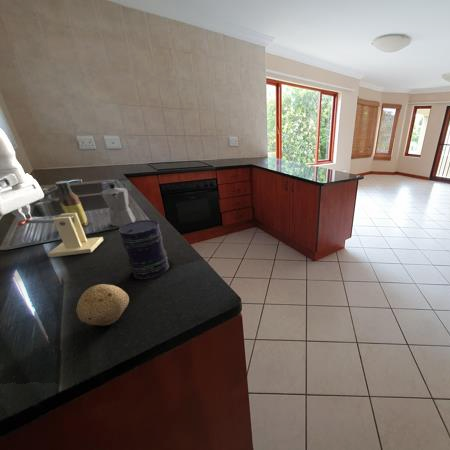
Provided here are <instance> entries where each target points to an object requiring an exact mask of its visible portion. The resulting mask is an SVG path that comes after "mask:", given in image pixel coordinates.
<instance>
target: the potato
mask: <svg viewBox="0 0 450 450" xmlns="http://www.w3.org/2000/svg"><path fill="white" fill-rule="evenodd" d="M129 303H130V297H129V295H128V293H127V292H126V291H125V290H123V289H122V288H120V287H119V286H116V285H114V284H109V283H108V284H107V283H101V284H99V283H98V284H96V285H93V286H90V287H89V288H87V289H86V290H84V292H83V293H82V294H81V296H80V297H79V299H78V301H77V305H76V307H75V312H76V315H77V318H78V319H79V321H80V322H82V323H84V324H86V325H90V326H102V327H105V326H110V325H112V324H114V323H116V322H117V321H118V320H119V319H120V318H121V316H122V314H123V312H124V311H125V310H126V309H127V308H128V305H129Z"/></svg>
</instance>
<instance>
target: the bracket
mask: <svg viewBox="0 0 450 450" xmlns="http://www.w3.org/2000/svg"><path fill="white" fill-rule="evenodd" d="M59 216H60V217H53V218H52V219H53V221H54V223H53V224H54V225H55V227H56V229H57V232H58V234H59V237H60V239H61V241H62V242H61V243H60V244H58V245H57V246H55V247H54V248H53V249H52V250H51V251H49V252H48V253H47V255H48V257H49V258H56V257H65V256H74V255H82V254H89V253H93V252H94V251H95V250H96V249H97V248H98V246H100V244H102V242H104V236H99V237H97V236H96V237H88V238H87V236H86V233H85V231H84V227H82V225H81V223H80V220H79V218H78V215H77V213H66V214H64V213H61V214H59ZM63 216H73V219H74V223H73V222H72V219H71V217H63Z"/></svg>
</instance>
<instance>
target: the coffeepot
mask: <svg viewBox="0 0 450 450" xmlns="http://www.w3.org/2000/svg"><path fill="white" fill-rule="evenodd" d="M109 186H110V188H108V189H104V190H102V191H101V192H100V195H101V196H102V198H103V200H104V202H105V204H106V206H107V207H108V208H109V216H110V224H111V225H112V226H113V227H122V226H124V225H126V224H129V223H132V222H136V221H137V220H136V217H135V215H134V214H133V212H132V209H131V208H130V207H129V204H130V201H129V194H128V193H129V192H128V189H127V188H124V187H117V186H116V185H115V183H111V184H109Z"/></svg>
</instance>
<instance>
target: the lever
mask: <svg viewBox="0 0 450 450" xmlns="http://www.w3.org/2000/svg"><path fill="white" fill-rule="evenodd" d="M63 217H71V219H72V222H73V223H74V219H73V216H63ZM49 223H50V224H55V223H54V221H53V218H33V217H31V218H29V219H27V220H26V221H19V222H17V226H19V227H22V226H24V225H26V224H49Z"/></svg>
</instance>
